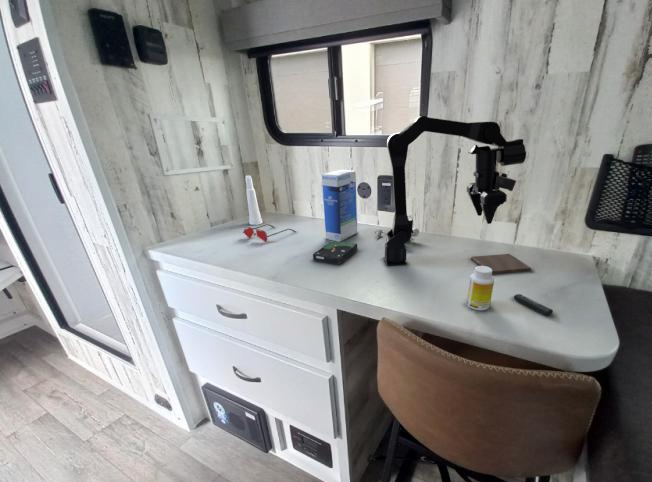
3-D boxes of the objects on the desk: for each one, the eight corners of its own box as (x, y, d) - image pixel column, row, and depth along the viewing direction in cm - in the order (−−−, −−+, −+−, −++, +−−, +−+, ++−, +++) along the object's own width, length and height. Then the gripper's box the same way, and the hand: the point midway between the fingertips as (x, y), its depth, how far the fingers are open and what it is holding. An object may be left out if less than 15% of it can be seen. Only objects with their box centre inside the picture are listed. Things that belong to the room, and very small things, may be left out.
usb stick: (553, 314, 74) (555, 309, 73) (546, 317, 72) (548, 312, 72) (518, 297, 81) (520, 292, 80) (512, 299, 80) (513, 294, 79)
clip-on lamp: (370, 247, 123) (409, 247, 112) (366, 233, 121) (405, 231, 110) (385, 237, 132) (423, 235, 121) (382, 223, 129) (420, 220, 118)
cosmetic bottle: (252, 221, 150) (244, 174, 140) (264, 221, 149) (257, 174, 140) (247, 224, 144) (238, 176, 135) (259, 225, 144) (251, 176, 134)
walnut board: (489, 274, 94) (489, 271, 93) (470, 259, 104) (471, 256, 104) (530, 270, 96) (531, 267, 95) (508, 256, 106) (509, 253, 106)
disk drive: (340, 266, 101) (357, 250, 113) (339, 258, 100) (357, 243, 112) (312, 261, 104) (332, 246, 117) (312, 254, 103) (332, 239, 116)
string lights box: (343, 230, 135) (341, 169, 124) (358, 233, 132) (356, 170, 121) (325, 239, 125) (320, 173, 114) (340, 242, 121) (337, 174, 110)
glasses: (243, 238, 127) (241, 226, 125) (273, 227, 140) (272, 216, 138) (266, 243, 120) (264, 231, 118) (296, 232, 133) (294, 221, 131)
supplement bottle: (493, 310, 76) (501, 272, 71) (473, 312, 75) (479, 275, 70) (481, 298, 81) (487, 263, 76) (462, 301, 80) (467, 265, 75)
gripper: (528, 168, 81) (523, 225, 88) (501, 161, 98) (499, 209, 105) (485, 174, 82) (484, 229, 89) (466, 166, 99) (466, 213, 106)
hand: (484, 219), depth 97 cm, fingers open, 9 cm apart
